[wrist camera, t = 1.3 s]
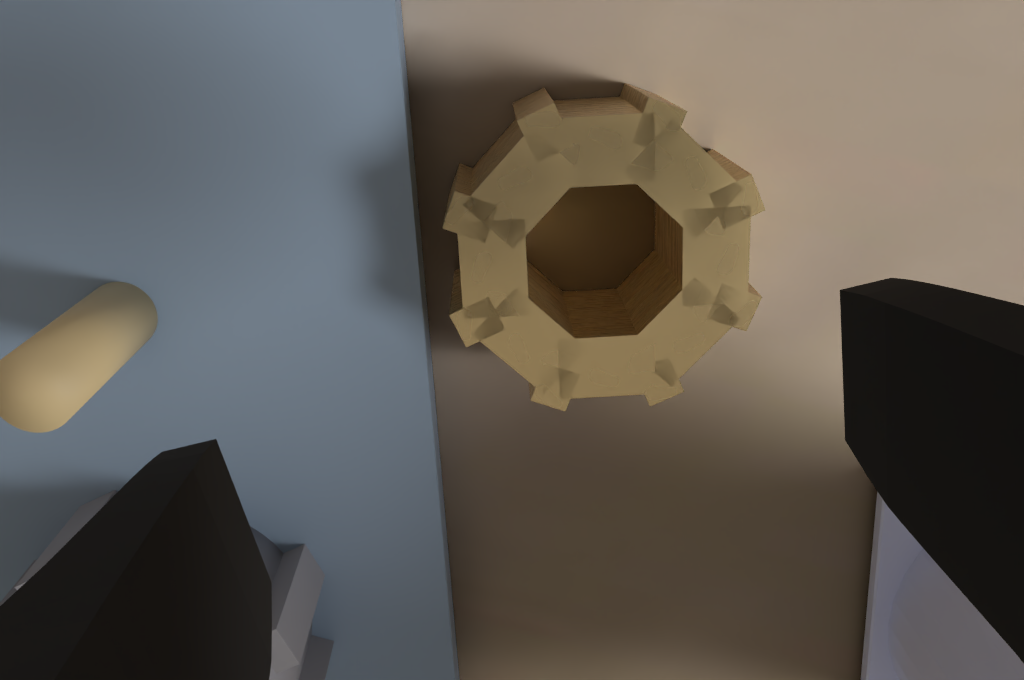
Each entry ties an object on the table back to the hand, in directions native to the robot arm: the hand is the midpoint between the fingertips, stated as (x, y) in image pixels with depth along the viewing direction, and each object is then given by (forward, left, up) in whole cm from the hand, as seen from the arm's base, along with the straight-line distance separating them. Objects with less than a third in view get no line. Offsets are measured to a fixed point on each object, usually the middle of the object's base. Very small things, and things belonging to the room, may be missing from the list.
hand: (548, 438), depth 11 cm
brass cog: (-1, 0, -10) cm, 10 cm away
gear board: (+8, +1, -10) cm, 13 cm away
